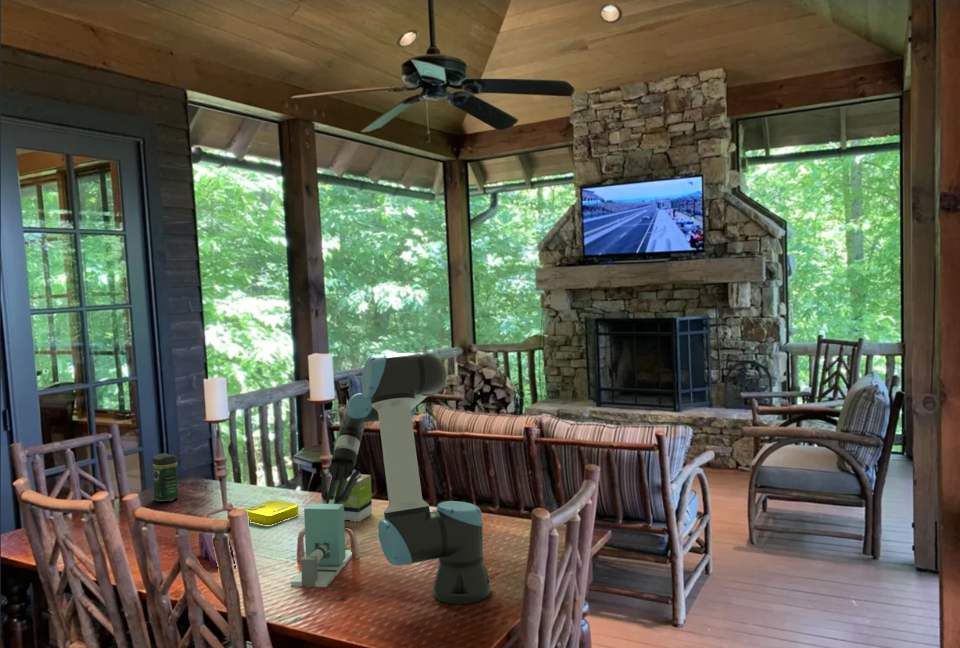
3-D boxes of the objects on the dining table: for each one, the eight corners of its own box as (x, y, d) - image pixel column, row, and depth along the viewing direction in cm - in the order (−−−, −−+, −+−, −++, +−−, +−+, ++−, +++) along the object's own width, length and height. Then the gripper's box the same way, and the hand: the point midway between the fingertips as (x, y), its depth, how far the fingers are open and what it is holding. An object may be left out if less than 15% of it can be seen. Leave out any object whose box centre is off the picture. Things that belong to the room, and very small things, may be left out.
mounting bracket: (244, 580, 205) (229, 539, 218) (247, 558, 202) (231, 519, 215) (212, 588, 199) (197, 546, 212) (214, 566, 196) (199, 525, 209)
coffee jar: (181, 499, 272) (180, 453, 271) (161, 504, 266) (160, 457, 265) (170, 495, 278) (168, 450, 277) (151, 500, 272) (149, 454, 271)
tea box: (321, 519, 242) (320, 478, 242) (336, 511, 252) (335, 471, 251) (359, 522, 237) (358, 480, 237) (372, 514, 247) (371, 473, 246)
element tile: (268, 528, 235) (267, 514, 235) (239, 522, 243) (239, 508, 243) (300, 516, 248) (300, 503, 248) (272, 510, 256) (272, 497, 255)
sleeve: (312, 557, 200) (311, 503, 200) (345, 558, 199) (343, 504, 198) (306, 563, 195) (304, 508, 195) (339, 564, 194) (337, 509, 193)
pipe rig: (324, 553, 209) (323, 528, 209) (355, 553, 208) (354, 528, 207) (290, 586, 185) (289, 558, 185) (325, 587, 184) (325, 559, 183)
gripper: (368, 459, 218) (352, 528, 202) (329, 459, 220) (310, 527, 204) (362, 446, 213) (346, 516, 197) (322, 446, 215) (303, 515, 199)
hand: (328, 521), depth 201 cm, fingers closed
